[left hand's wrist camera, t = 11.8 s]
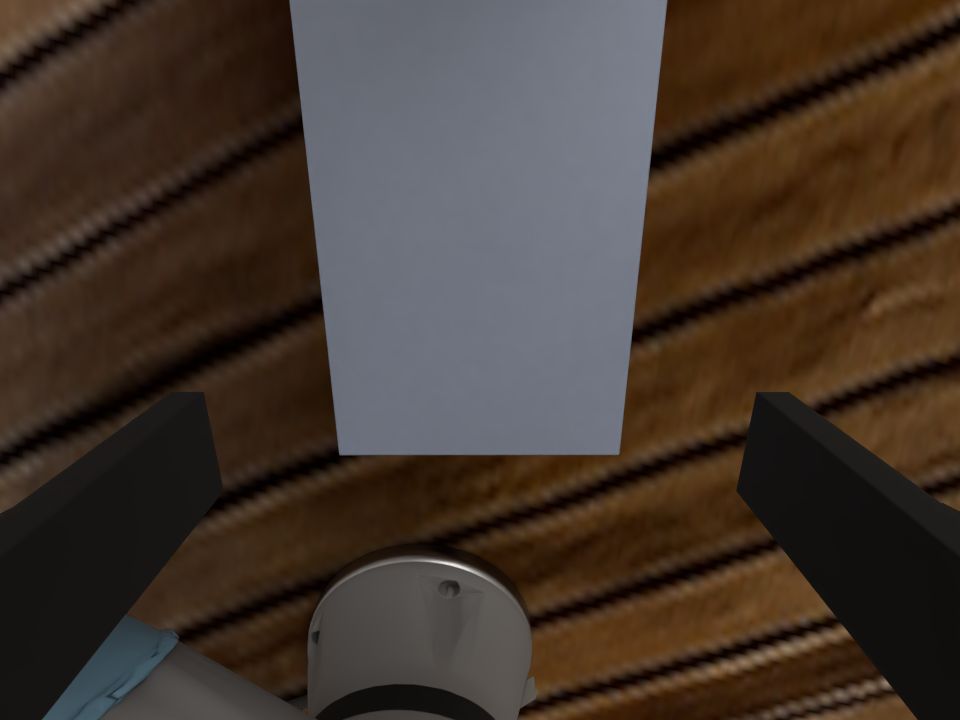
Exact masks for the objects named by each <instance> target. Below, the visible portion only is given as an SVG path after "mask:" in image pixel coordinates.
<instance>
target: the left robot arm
mask: <svg viewBox="0 0 960 720" xmlns="http://www.w3.org/2000/svg"><path fill="white" fill-rule="evenodd" d="M223 491H224V490H223V486H222V481H221V476H220V471H219V466H218V461H217V456H216V451H215V446H214V441H213V436H212V432H211V427H210V422H209V417H208V412H207V407H206V402H205V397H204V392H171V393H169V394H168V395H167V396H165V397H164V398H163V399H161V400H160V401H159V402H157V403H156V404H154V405H153V406H152V407H150V408H149V409H148V410H146V411H145V412H143V413H142V414H141V415H139V416H138V417H137V418H135V419H134V420H132V421H131V422H130V423H128V424H127V425H126V426H124V427H123V428H121V429H120V430H119V431H117V432H116V433H115V434H113V435H112V436H110V437H109V438H108V439H106V440H105V441H104V442H102V443H101V444H99V445H98V446H97V447H95V448H94V449H93V450H91V451H90V452H89V453H87V454H86V455H84V456H83V457H82V458H80V459H79V460H78V461H76V462H75V463H73V464H72V465H71V466H69V467H68V468H67V469H65V470H64V471H62V472H61V473H60V474H58V475H57V476H56V477H54V478H53V479H51V480H50V481H49V482H47V483H46V484H45V485H43V486H42V487H40V488H39V489H38V490H36V491H35V492H34V493H32V494H31V495H29V496H28V497H27V498H25V499H24V500H23V501H21V502H20V503H18V504H17V505H16V506H14V507H13V508H11V509H9V510H7V511H5V512H3V513H1V514H0V720H517V717H518V713H519V709H520V708H522V707H523V706H525V705H526V704H528V703H529V702H531V701H532V700H534V699H536V691H535V682H534V676H533V677H531V678H530V679H528V680H527V677H528V673H529V669H530V664H531V657H532V636H531V627H530V618H529V614H528V610H527V607H526V604H525V602H524V600H523V598H522V596H521V594H520V593H519V591H518V590H517V588H516V587H515V586H514V584H513V583H512V582H511V581H510V580H509V579H508V578H507V577H506V576H505V575H504V574H503V573H502V572H500V571H499V570H498V569H497V568H495V567H494V566H492V565H491V564H489V563H488V562H486V561H484V560H482V559H480V558H478V557H476V556H474V555H472V554H469V553H467V552H464V551H461V550H457V549H454V548H449V547H445V546H438V545H429V544H408V545H398V546H393V547H388V548H384V549H380V550H377V551H374V552H371V553H369V554H366V555H364V556H362V557H360V558H358V559H356V560H355V561H353V562H351V563H350V564H348V565H347V566H346V567H344V568H343V569H342V570H341V571H339V572H338V573H337V574H336V575H335V576H334V577H333V578H332V580H331V581H330V582H329V583H328V585H327V586H326V588H325V589H324V591H323V593H322V595H321V597H320V599H319V602H318V605H317V607H316V610H315V613H314V615H313V618H312V621H311V624H310V628H309V636H308V695H305V696H302V697H299V698H296V699H293V700H290V701H287V702H285V701H284V700H282V699H280V698H278V697H277V696H275V695H273V694H271V693H270V692H268V691H266V690H264V689H262V688H261V687H259V686H257V685H255V684H254V683H252V682H250V681H248V680H247V679H245V678H243V677H241V676H240V675H238V674H236V673H234V672H233V671H231V670H229V669H227V668H226V667H224V666H222V665H220V664H218V663H217V662H215V661H213V660H211V659H210V658H208V657H206V656H204V655H203V654H201V653H199V652H197V651H196V650H194V649H192V648H190V647H189V646H187V645H185V644H183V643H181V642H180V641H178V640H179V636H178V635H177V634H176V633H175V632H174V631H173V630H170V629H164V630H158V629H156V628H154V627H152V626H149V625H147V624H145V623H143V622H141V621H139V620H137V619H135V618H133V617H131V616H129V615H127V614H126V613H127V612H128V611H129V610H130V608H131V607H132V606H133V605H134V603H135V602H136V601H137V599H138V598H139V597H140V596H141V594H142V593H143V592H144V591H145V589H146V588H147V587H148V586H149V584H150V583H151V582H152V581H153V579H154V578H155V577H156V575H157V574H158V573H159V572H160V570H161V569H162V568H163V567H164V565H165V564H166V563H167V562H168V560H169V559H170V558H171V557H172V555H173V554H174V553H175V552H176V550H177V549H178V548H179V546H180V545H181V544H182V543H183V541H184V540H185V539H186V538H187V536H188V535H189V534H190V533H191V531H192V530H193V529H194V528H195V526H196V525H197V524H198V522H199V521H200V520H201V519H202V517H203V516H204V515H205V514H206V512H207V511H208V510H209V509H210V507H211V506H212V505H213V504H214V502H215V501H216V500H217V499H218V497H219V496H220V495H221V493H222V492H223ZM736 491H737V492H738V493H739V495H740V496H741V497H742V499H743V500H744V501H745V502H746V504H747V505H748V506H749V507H750V509H751V510H752V511H753V512H754V514H755V515H756V516H757V517H758V519H759V520H760V521H761V522H762V524H763V525H764V526H765V528H766V529H767V530H768V531H769V533H770V534H771V535H772V536H773V538H774V539H775V540H776V541H777V543H778V544H779V545H780V546H781V548H782V549H783V550H784V552H785V553H786V554H787V555H788V557H789V558H790V559H791V560H792V562H793V563H794V564H795V565H796V567H797V568H798V569H799V570H800V572H801V573H802V574H803V575H804V577H805V578H806V579H807V581H808V582H809V583H810V584H811V586H812V587H813V588H814V589H815V591H816V592H817V593H818V594H819V596H820V597H821V598H822V599H823V601H824V602H825V603H826V605H827V606H828V607H829V608H830V610H831V611H832V612H833V613H834V615H835V616H836V617H837V618H838V620H839V621H840V622H841V623H842V625H843V626H844V627H845V628H846V630H847V631H848V632H849V634H850V635H851V636H852V637H853V639H854V640H855V641H856V642H857V644H858V645H859V646H860V647H861V649H862V650H863V651H864V652H865V654H866V655H867V656H868V658H869V659H870V660H871V661H872V663H873V664H874V665H875V666H876V668H877V669H878V670H879V671H880V673H881V674H882V675H883V676H884V678H885V679H886V680H887V681H888V683H889V684H890V685H891V687H892V688H893V689H894V690H895V692H896V693H897V694H898V695H899V697H900V698H901V699H902V700H903V702H904V703H905V704H906V705H907V707H908V708H909V709H910V711H911V712H912V713H913V714H914V716H915V717H916V718H917V719H918V720H960V511H958V510H956V509H954V508H952V507H950V506H948V505H946V504H944V503H940V502H939V501H937V500H936V499H935V498H933V497H932V496H931V495H929V494H928V493H926V492H925V491H924V490H922V489H921V488H920V487H918V486H917V485H915V484H914V483H913V482H911V481H910V480H909V479H907V478H906V477H904V476H903V475H902V474H900V473H899V472H898V471H896V470H895V469H893V468H892V467H891V466H889V465H888V464H887V463H885V462H884V461H882V460H881V459H880V458H878V457H877V456H876V455H874V454H873V453H871V452H870V451H869V450H867V449H866V448H865V447H863V446H862V445H861V444H859V443H858V442H856V441H855V440H854V439H852V438H851V437H850V436H848V435H847V434H845V433H844V432H843V431H841V430H840V429H839V428H837V427H836V426H834V425H833V424H832V423H830V422H829V421H828V420H826V419H825V418H823V417H822V416H821V415H819V414H818V413H817V412H815V411H814V410H812V409H811V408H810V407H808V406H807V405H806V404H804V403H803V402H801V401H800V400H799V399H797V398H796V397H795V396H793V395H792V394H791V393H789V392H756V397H755V402H754V407H753V412H752V417H751V422H750V427H749V432H748V436H747V441H746V446H745V451H744V456H743V461H742V466H741V471H740V476H739V481H738V486H737V490H736ZM526 680H527V681H526ZM305 708H308V714H307V713H305V712H303V711H301V710H302V709H305Z"/></svg>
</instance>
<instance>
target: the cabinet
mask: <svg viewBox="0 0 960 720" xmlns="http://www.w3.org/2000/svg"><path fill="white" fill-rule="evenodd" d="M666 7H667V0H290V9H291V18H292V27H293V36H294V45H295V55H296V64H297V73H298V82H299V91H300V100H301V109H302V119H303V128H304V137H305V146H306V155H307V164H308V174H309V183H310V192H311V201H312V210H313V219H314V228H315V238H316V247H317V256H318V265H319V274H320V283H321V293H322V302H323V311H324V320H325V329H326V338H327V347H328V357H329V366H330V375H331V384H332V393H333V402H334V411H335V421H336V430H337V439H338V448H339V455H619V452H620V442H621V433H622V423H623V414H624V404H625V395H626V385H627V376H628V366H629V357H630V348H631V338H632V329H633V319H634V310H635V300H636V291H637V281H638V272H639V262H640V253H641V244H642V234H643V225H644V215H645V206H646V196H647V187H648V177H649V168H650V158H651V149H652V139H653V130H654V121H655V111H656V102H657V92H658V83H659V73H660V64H661V54H662V45H663V35H664V26H665V17H666Z"/></svg>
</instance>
